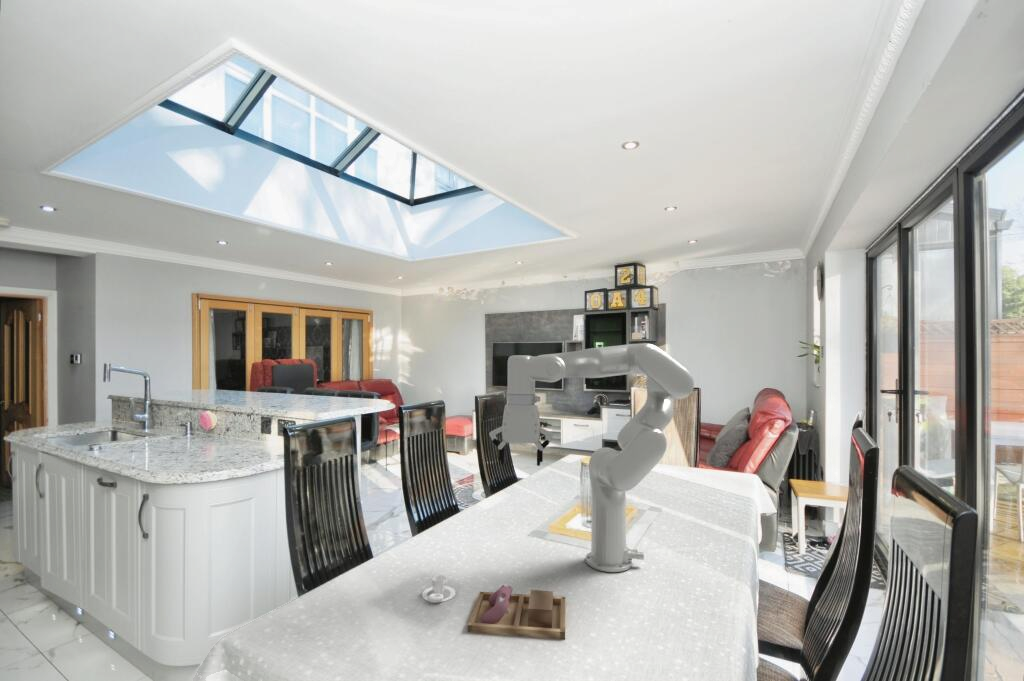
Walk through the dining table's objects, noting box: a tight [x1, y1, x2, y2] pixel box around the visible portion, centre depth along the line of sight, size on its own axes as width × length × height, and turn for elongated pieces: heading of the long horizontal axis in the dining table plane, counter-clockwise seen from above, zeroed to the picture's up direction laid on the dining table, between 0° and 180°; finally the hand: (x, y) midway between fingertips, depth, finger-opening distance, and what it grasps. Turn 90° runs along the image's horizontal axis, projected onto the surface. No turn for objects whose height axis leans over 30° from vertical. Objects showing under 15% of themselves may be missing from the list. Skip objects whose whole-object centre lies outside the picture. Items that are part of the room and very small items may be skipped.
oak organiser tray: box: [467, 591, 566, 640], centre depth 102 cm, size 20×14×2 cm
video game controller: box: [481, 583, 514, 624], centre depth 103 cm, size 10×5×7 cm, turn 173°
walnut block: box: [528, 589, 554, 628], centre depth 102 cm, size 5×8×4 cm, turn 173°
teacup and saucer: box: [421, 574, 457, 604], centre depth 112 cm, size 9×8×4 cm
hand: (520, 464), depth 126 cm, fingers open, 9 cm apart
